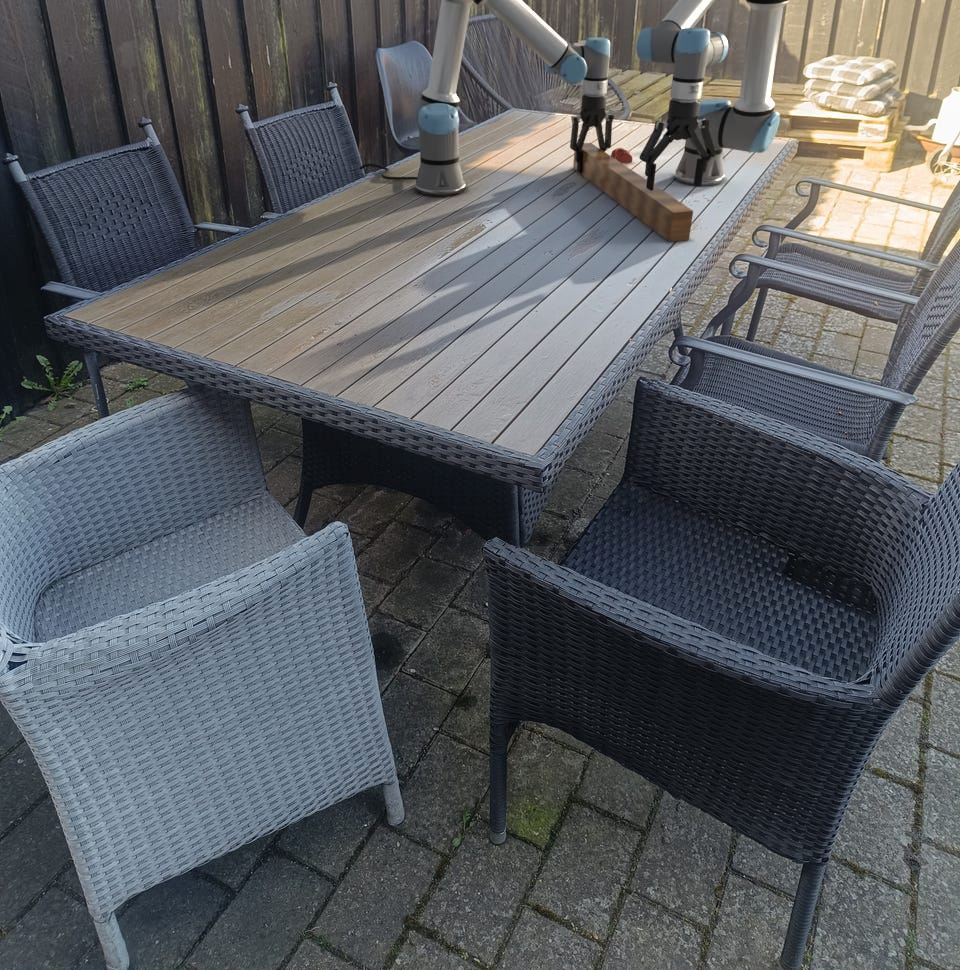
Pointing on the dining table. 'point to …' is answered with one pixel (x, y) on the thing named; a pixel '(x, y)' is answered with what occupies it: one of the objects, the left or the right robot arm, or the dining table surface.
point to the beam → (636, 194)
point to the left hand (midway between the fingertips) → (588, 171)
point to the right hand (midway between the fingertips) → (673, 187)
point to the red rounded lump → (622, 155)
